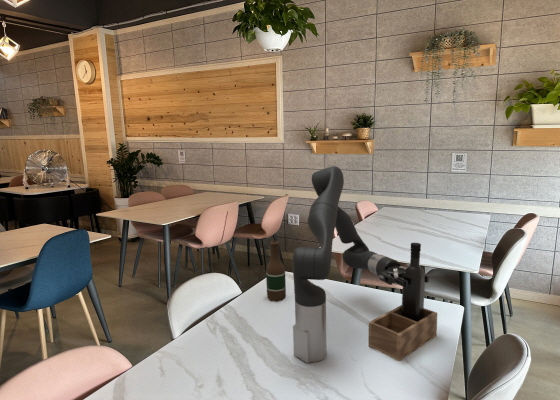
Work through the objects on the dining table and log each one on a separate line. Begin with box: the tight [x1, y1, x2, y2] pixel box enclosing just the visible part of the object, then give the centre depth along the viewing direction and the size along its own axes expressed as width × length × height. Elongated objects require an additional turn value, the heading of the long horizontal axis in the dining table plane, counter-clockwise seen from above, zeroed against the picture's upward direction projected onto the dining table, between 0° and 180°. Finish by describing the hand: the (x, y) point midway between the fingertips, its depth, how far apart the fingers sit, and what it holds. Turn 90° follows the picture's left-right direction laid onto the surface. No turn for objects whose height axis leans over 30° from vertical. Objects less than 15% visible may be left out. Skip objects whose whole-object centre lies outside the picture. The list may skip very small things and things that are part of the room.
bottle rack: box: [368, 304, 438, 362], centre depth 122 cm, size 21×11×8 cm, turn 130°
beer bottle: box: [265, 240, 287, 303], centre depth 156 cm, size 8×8×24 cm
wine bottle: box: [401, 242, 426, 322], centre depth 123 cm, size 6×6×30 cm
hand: (417, 282), depth 121 cm, fingers open, 8 cm apart
